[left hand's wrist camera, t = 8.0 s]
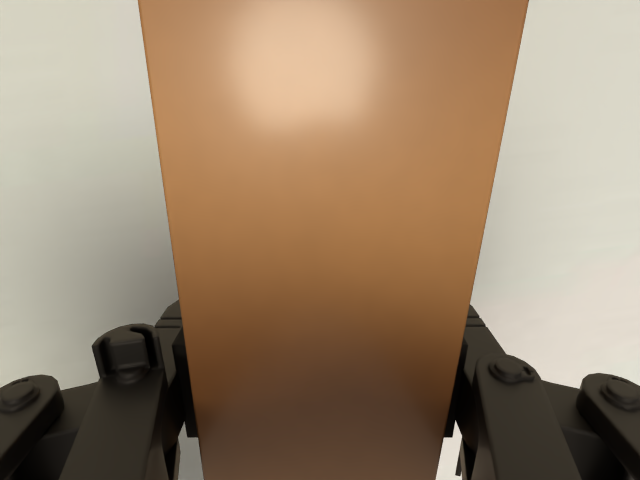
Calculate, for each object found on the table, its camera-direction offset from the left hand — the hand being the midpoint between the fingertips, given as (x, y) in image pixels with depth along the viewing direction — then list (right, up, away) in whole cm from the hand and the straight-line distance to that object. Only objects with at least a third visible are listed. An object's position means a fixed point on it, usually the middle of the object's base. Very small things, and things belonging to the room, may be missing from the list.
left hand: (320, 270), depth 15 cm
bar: (0, +20, -7) cm, 21 cm away
